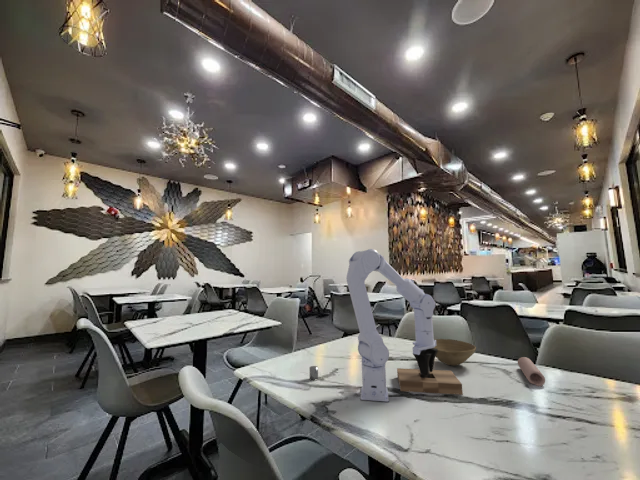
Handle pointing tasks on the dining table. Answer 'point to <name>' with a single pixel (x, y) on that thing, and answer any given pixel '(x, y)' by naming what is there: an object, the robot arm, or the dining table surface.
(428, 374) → the tall pin
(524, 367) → the coil
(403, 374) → the hole plate
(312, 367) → the short pin
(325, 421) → the dining table surface
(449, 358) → the bowl
